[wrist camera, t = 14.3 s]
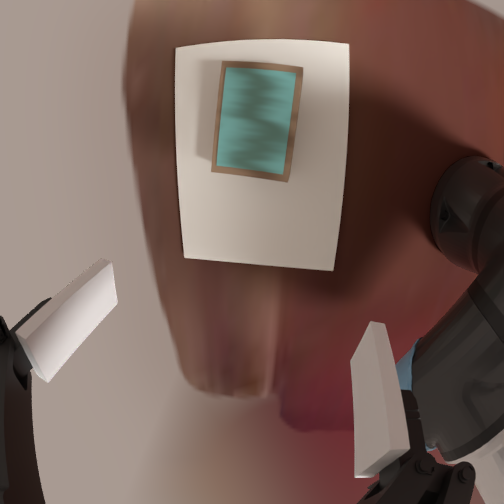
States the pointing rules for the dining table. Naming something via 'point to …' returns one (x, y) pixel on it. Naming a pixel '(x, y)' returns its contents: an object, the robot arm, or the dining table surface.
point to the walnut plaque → (256, 119)
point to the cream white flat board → (256, 189)
